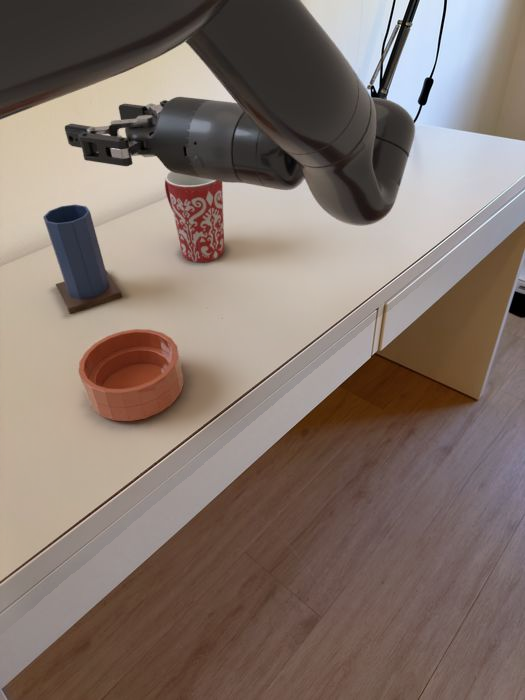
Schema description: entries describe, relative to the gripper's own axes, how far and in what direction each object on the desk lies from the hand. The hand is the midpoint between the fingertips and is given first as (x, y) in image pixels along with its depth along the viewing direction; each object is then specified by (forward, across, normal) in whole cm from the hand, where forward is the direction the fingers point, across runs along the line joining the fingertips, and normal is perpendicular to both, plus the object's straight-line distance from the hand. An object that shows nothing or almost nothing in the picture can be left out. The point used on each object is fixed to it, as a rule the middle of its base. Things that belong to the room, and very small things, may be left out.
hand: (96, 123), depth 60 cm
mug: (+3, -19, +26) cm, 33 cm away
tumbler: (+10, 0, +25) cm, 27 cm away
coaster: (+10, 0, +26) cm, 28 cm away
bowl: (-11, +13, +26) cm, 31 cm away
